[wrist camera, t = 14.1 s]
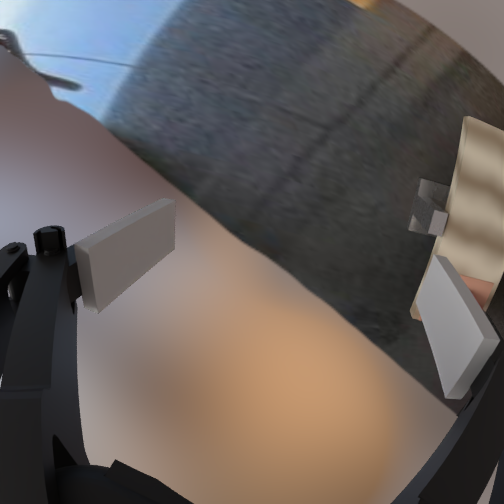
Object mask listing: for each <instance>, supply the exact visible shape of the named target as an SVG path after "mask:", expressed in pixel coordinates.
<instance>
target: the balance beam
mask: <svg viewBox="0 0 504 504" xmlns="http://www.w3.org/2000/svg"><path fill="white" fill-rule="evenodd" d="M445 212H447V213H448V217H447V220H446V224H445V227H444V230H443V234H442V237H441V236H437V238H436V241H435V245H434V248H433V251H432V254H431V257H430V260H429V262H428V265H427V268H426V271H425V274H424V276H423V279H422V282H421V284H420V287H419V289H418V292H417V295H416V297H415V300H414V302H413V304H412V307H411V309H410V312H411V315H412V318H414V319H418V320H421V321H422V318H421V316H420V313H419V310H418V307H417V304H416V300H417V297H418V295H419V292H420V290H421V287H422V285H423V282H424V280H425V277H426V274H427V271H428V269H429V266H430V263H431V260H432V257H433V254H437V255H440V256H444V257H447V258H448V260H449V261H450V263H451V264H452V265H453V267H454V268H455V269H456V271H457V272H458V274H459V275H460V277H461V278H462V279H463V281H464V282H465V284H466V285H467V287H468V288H469V290H470V291H471V292H472V294H473V295H474V296H475V297H476V299H477V301H478V302H479V304H480V305H481V307H482V308H483V310H484V311H485V312H486V310H487V308H488V306H489V304H490V302H491V300H492V297H493V295H494V293H495V291H496V289H497V286H498V284H499V282H500V279H501V277H502V274H503V272H504V131H502V130H500V129H498V128H496V127H493V126H491V125H489V124H487V123H484V122H482V121H480V120H477V119H475V118H473V117H470V116H468V117H464V119H463V126H462V132H461V139H460V144H459V150H458V155H457V160H456V165H455V170H454V175H453V179H452V183H451V188H450V192H449V196H448V200H447V204H446V207H445Z"/></svg>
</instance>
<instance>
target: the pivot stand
mask: <svg viewBox="0 0 504 504" xmlns="http://www.w3.org/2000/svg"><path fill="white" fill-rule="evenodd" d="M450 188H451V187H450V186H447V185H444V184H441V183H437V182H434V181H431V180H427V179H424V178H420V177H419V181H418V185H417V190H416V194H415V198H414V202H413V206H412V210H411V214H410V217H409V221H408V225H407V229H408V230H410V231H414V232H418V233H421V234H425V235H429V236H433V237H437V236H441V237H442V234H443V230H444V227H445V224H446V220H447V217H448V213H447V212H445V207H446V204H447V200H448V196H449V192H450Z"/></svg>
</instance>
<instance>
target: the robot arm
mask: <svg viewBox="0 0 504 504" xmlns="http://www.w3.org/2000/svg"><path fill="white" fill-rule="evenodd" d="M175 207H176V200H172V199H166V198H162V199H160V200H158V201H156V202H154V203H152V204H150V205H148V206H146V207H143V208H141V209H139V210H137V211H135V212H133V213H131V214H129V215H128V216H125V217H123V218H121V219H120V220H118V221H116V222H114V223H112V224H110V225H108V226H106V227H104V228H102V229H100V230H99V231H97V232H95V233H93V234H91V235H90V236H87V237H86V238H84V239H82V240H80V241H78V242H77V243H75V244H73V245H72V246H70V247H68V248H67V246H66V239H65V230H64V228H63V227H61V226H47V227H43V228H40V229H38V230H36V231H35V232H34V233H33V235H34V241H35V247H36V252H37V254H36V256H35V255H28V252H27V247H26V244H24V243H20V242H18V243H16V242H13V243H9V244H8V245H7V246H5V247H3V248H2V249H1V250H0V379H1V376H2V381H1V387H0V504H193V503H192V502H190V501H189V500H187V499H185V498H184V497H182V496H181V495H179V494H178V493H176V492H174V491H173V490H172V489H170V488H169V487H167V486H166V485H164V484H163V483H162V482H160V481H159V480H157V479H156V478H153V477H151V476H149V475H147V474H144V473H142V472H140V471H138V470H136V469H134V468H132V467H130V466H127V465H126V464H124V463H122V462H119V461H118V460H115V461H114V462H113V464H112V465H111V467H110V468H109V467H104V466H98V465H90V463H89V460H88V458H87V455H86V452H85V448H84V443H83V435H82V428H81V418H80V408H79V396H78V379H77V303H76V299H77V298H79V297H80V296H81V295H82V298H83V303H84V307H85V308H86V309H88V310H91V311H93V312H96V313H98V314H99V313H100V312H101V311H102V310H103V309H104V308H105V307H106V306H108V305H109V304H110V303H111V302H112V301H113V300H114V299H116V298H117V297H118V296H119V295H120V294H122V293H123V292H124V291H125V290H126V289H127V288H128V287H130V286H131V285H132V284H133V283H134V282H136V281H137V280H138V279H139V278H140V277H141V276H143V275H144V274H145V273H146V272H147V271H148V270H150V269H151V268H152V267H153V266H155V265H156V264H157V263H158V262H159V261H160V260H162V259H163V258H164V257H165V256H166V255H168V254H169V253H170V252H172V251H173V250H174V248H175ZM8 289H9V293H10V297H8ZM416 304H417V307H418V310H419V313H420V316H421V318H422V321H423V324H424V327H425V330H426V333H427V336H428V339H429V342H430V345H431V349H432V352H433V355H434V359H435V362H436V365H437V369H438V372H439V376H440V380H441V383H442V387H443V391H444V395H445V398H450V399H462V398H463V396H464V395H465V394H466V392H467V391H468V389H469V388H471V391H472V394H473V395H472V397H471V398H470V399H469V401H468V402H467V403H466V404H465V406H464V407H463V408H462V409H461V411H460V412H459V413H458V414H457V416H458V418H457V420H456V421H455V423H454V424H453V426H452V427H451V429H450V431H449V432H448V434H447V435H446V436H445V438H444V439H443V441H442V442H441V443H440V445H439V446H438V448H437V449H436V450H435V452H434V453H433V454H432V456H431V457H430V458H429V460H428V461H427V462H426V464H425V465H424V466H423V467H422V469H421V470H420V471H419V472H418V473H417V475H416V476H415V477H414V478H413V479H412V481H411V482H410V483H409V484H408V485H407V487H405V489H404V490H403V491H402V492H401V493H400V494H399V495H398V496H397V497H396V499H395V500H394V501H393V502H392V503H391V504H477V502H478V500H479V499H480V497H481V495H482V493H483V491H484V489H485V487H486V486H487V484H488V481H489V480H490V478H491V476H492V473H493V471H494V469H495V467H496V465H497V463H498V467H497V472H496V477H495V481H494V485H493V490H492V493H491V497H490V501H489V504H504V340H503V338H502V337H501V335H500V333H499V331H497V328H496V326H495V325H494V323H493V321H492V320H491V318H490V316H489V315H488V314H487V313H486V312H485V311H484V310H482V308H481V307H480V305H479V304H478V302H477V301H476V299H475V297H474V296H473V294H472V293H471V291H470V290H469V288H468V287H467V285H466V284H465V282H464V281H463V279H462V278H461V277H460V275H459V274H458V272H457V271H456V269H455V268H454V267H453V265H452V264H451V263H450V261H449V260H448V258H447V257H444V256H440V255H437V254H433V257H432V260H431V263H430V266H429V269H428V271H427V274H426V277H425V280H424V282H423V285H422V287H421V290H420V292H419V295H418V297H417V300H416ZM2 374H3V375H2ZM498 461H499V462H498Z"/></svg>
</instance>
